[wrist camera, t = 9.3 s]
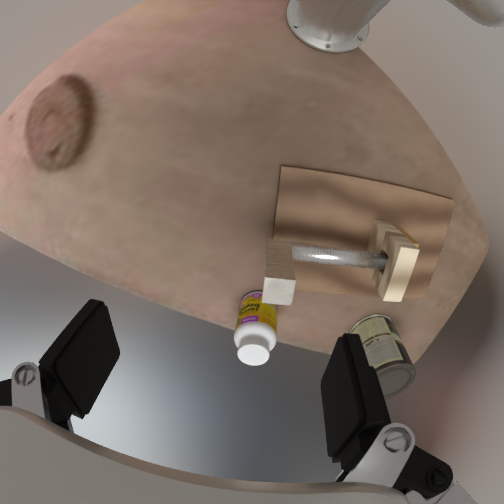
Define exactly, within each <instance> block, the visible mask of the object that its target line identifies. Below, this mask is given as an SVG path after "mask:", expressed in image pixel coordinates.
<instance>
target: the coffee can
mask: <svg viewBox="0 0 504 504" xmlns="http://www.w3.org/2000/svg"><path fill="white" fill-rule="evenodd" d="M350 334H359V335H360V338H361V341H362V344H363V347H364V350H365V353H366V356H367V359H368V363H369V366H373V367H374V368H375V370H376V373H377V376H378V379H379V382H380V385H381V389H382V392H383V395H384V399H388V398H391V397H393V396H395V395H397V394H399V393H401V392H402V391H404V390H405V389H406V388H408V387H409V385H410V384H411V383H412V382H413V380H414V379H415V376H416V370H415V368H414V366H413V364H412V362H411V360H410V358H409V356H408V354H407V351H406V349H405V347H404V345H403V343H402V341H401V339H400V337H399V335H398V333H397V331H396V329H395V327H394V325H393V322H392V320H391V319H390V318H389V317H388V316H386V315H383V314H374V315H370V316H367V317H364V318H363V319H361V320H359V321H358V322H357V323H356V324H355V325H354V326H353V327H352V329H351V330H350Z"/></svg>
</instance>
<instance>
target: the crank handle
mask: <svg viewBox="0 0 504 504" xmlns="http://www.w3.org/2000/svg"><path fill="white" fill-rule="evenodd" d="M388 257H389V256H388V255H387V254H386V253H381V252H373V251H365V250H357V249H348V248H340V247H331V246H323V245H314V244H306V243H297V242H291V240H283V239H274V238H267V244H266V253H265V265H264V279H263V293H262V303H270V304H280V305H291V303H292V298H293V293H294V288H295V283H296V277H295V269H294V262H293V261H302V262H312V263H321V264H331V265H340V266H350V267H359V268H369V269H379V270H385V267H386V264H387V260H388Z"/></svg>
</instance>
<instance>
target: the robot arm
mask: <svg viewBox="0 0 504 504" xmlns="http://www.w3.org/2000/svg"><path fill="white" fill-rule="evenodd" d="M389 1H390V0H299V1H297V0H290V2H289V4H288V7H287V12H286V17H287V22H288V25H289V27H290V29H291V30H292V32H293V33H294V34H295V35H296V37H297V38H298V39H299V40H301V41H302V42H304V43H305V44H306V45H308V46H310V47H312V48H314V49H317V50H319V51H323V52H327V53H345V52H349V51H352V50H354V49H356V48H358V47H359V46H360V45H361V44H362V43H363V42H364V41H365V39H366V38H367V36H368V32H369V21H370V20H371V19H372V18H373V17H374V16H375V15H376V14H377V13H378V12H379V11H380V10H381V9H382V8H383V7H384V6H385V5H386V4H387V3H388V2H389ZM447 1H449V2H450V3H451V4H453V5H454V6H455V7H457V8H458V9H459V10H460V11H462V12H463V13H464V14H465V15H467V16H468V17H470V18H471V19H472V20H474V21H476V22H477V23H479V24H481V25H484V26H487V27H495V28H496V27H503V26H504V0H447ZM294 27H297V28H294ZM358 39H359V40H360V41H359V40H358ZM326 47H328V48H329V49H327V48H326ZM119 356H120V349H119V346H118V343H117V340H116V337H115V333H114V330H113V326H112V322H111V319H110V315H109V311H108V308H107V306H105V304H104V302H103V301H99V300H94V299H90V300H89V301H88V302H87V303H86V304H85V305H84V306H83V308H82V309H81V310H80V311H79V312H78V313H77V315H76V316H75V317H74V318H73V319H72V320H71V322H70V323H69V324H68V325H67V326H66V328H65V329H64V330H63V331H62V332H61V334H60V335H59V336H58V337H57V339H56V340H55V341H54V342H53V344H52V345H51V347H49V349H48V350H47V351H46V353H45V354H44V355H43V357H42V358H41V359H40V361H39V364H40V365H39V366H38V367H37V366H36V365H35V364H34V363H31V362H24V363H21V364H20V365H18V366H17V367H16V368H15V369H14V371H13V373H12V378H11V379H8V380H4V381H1V382H0V504H477V502H476V501H475V500H474V499H473V498H472V497H471V496H470V495H469V494H468V493H467V492H466V490H465V489H464V488H463V487H462V486H461V485H460V484H459V483H458V482H455V483H454V482H453V481H452V480H453V473H452V469H451V468H450V466H449V465H447V464H446V463H445V462H443V461H441V460H440V459H438V458H436V457H434V456H432V455H431V454H429V453H427V452H426V451H424V450H422V449H420V448H419V447H417V446H415V437H414V435H413V432H412V431H411V430H410V428H408V427H407V426H406V425H403V424H400V423H392V424H391V421H390V417H389V413H388V409H387V406H386V402H385V399H384V395H383V392H382V389H381V385H380V382H379V379H378V376H377V373H376V370H375V368H374V367H373V366H369V363H368V359H367V356H366V353H365V350H364V347H363V344H362V341H361V338H360V335H359V334H350V333H344V334H343V336H342V337H339V338H338V340H337V342H336V345H335V347H334V350H333V353H332V355H331V358H330V360H329V363H328V365H327V368H326V370H325V373H324V375H323V377H322V380H321V394H322V402H323V410H324V420H325V430H326V441H327V452H328V456H329V457H332V461H333V463H337V462H341V468H342V469H343V471H342V472H341V473H340V474H339V475H338V477H337V478H336V479H335V481H333V482H332V483H331V482H330V483H269V482H252V481H242V480H233V479H225V478H218V477H211V476H206V475H200V474H195V473H190V472H185V471H181V470H176V469H172V468H168V467H164V466H160V465H157V464H153V463H150V462H146V461H143V460H140V459H137V458H134V457H131V456H128V455H125V454H122V453H119V452H117V451H114V450H111V449H109V448H106V447H103V446H101V445H99V444H96V443H94V442H92V441H89V440H87V439H85V438H83V437H81V436H78V435H76V434H74V431H73V427H72V424H71V419H70V417H71V415H72V414H73V415H75V416H77V417H79V418H81V419H83V418H84V416H85V414H88V413H89V412H90V410H91V408H92V406H93V404H94V402H95V401H96V399H97V397H98V395H99V393H100V391H101V389H102V387H103V386H104V384H105V382H106V380H107V378H108V376H109V375H110V373H111V371H112V369H113V367H114V366H115V364H116V362H117V360H118V359H119Z"/></svg>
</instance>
